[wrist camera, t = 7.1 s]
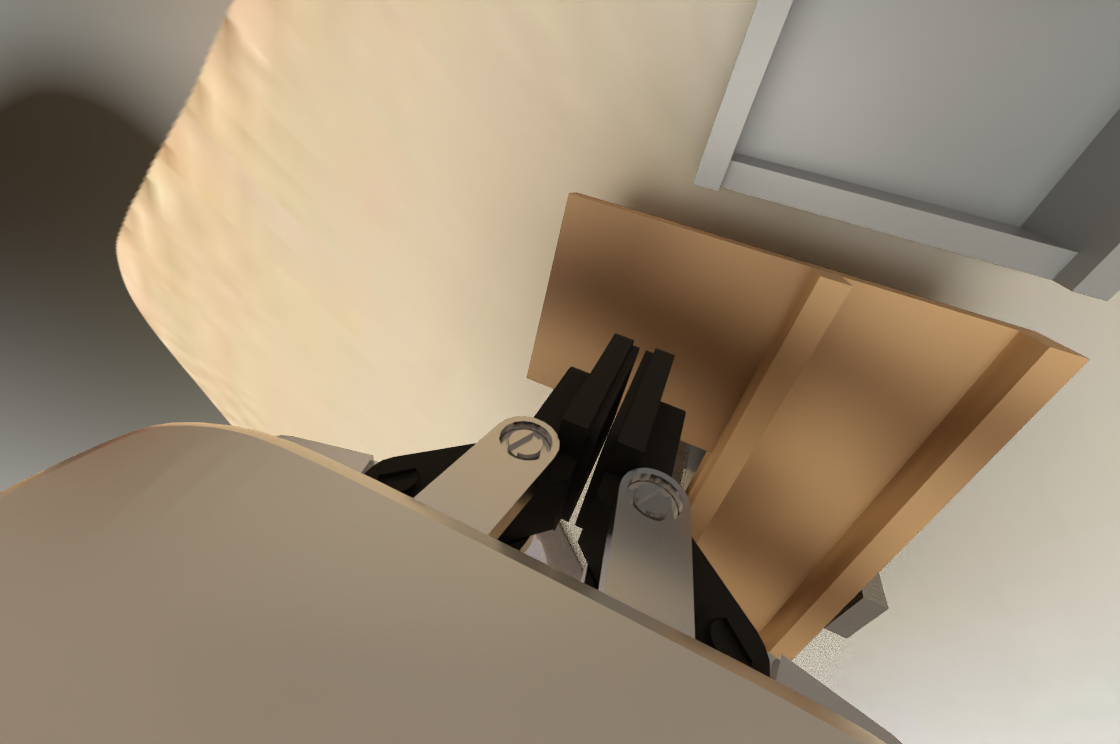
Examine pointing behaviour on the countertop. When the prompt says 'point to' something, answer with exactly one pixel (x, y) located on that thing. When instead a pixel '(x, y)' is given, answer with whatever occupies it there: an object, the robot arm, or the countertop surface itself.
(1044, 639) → the countertop surface
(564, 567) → the stone block
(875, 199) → the tray
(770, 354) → the seesaw
